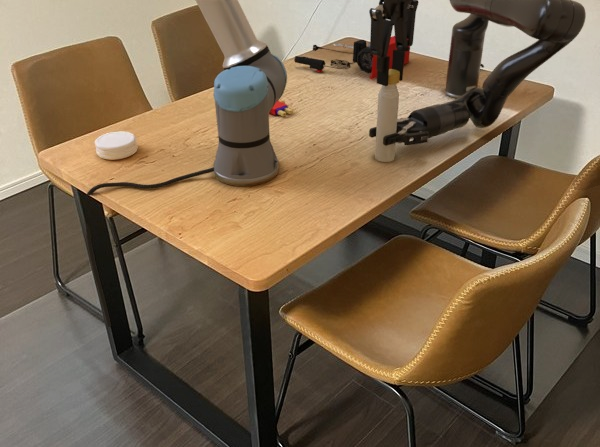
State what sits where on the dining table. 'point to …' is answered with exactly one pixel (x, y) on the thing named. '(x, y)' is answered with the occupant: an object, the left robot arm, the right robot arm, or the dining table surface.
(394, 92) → the bottle
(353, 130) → the dining table surface
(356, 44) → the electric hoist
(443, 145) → the dining table surface
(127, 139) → the white round container
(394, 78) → the cap
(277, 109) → the toy figure
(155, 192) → the dining table surface
